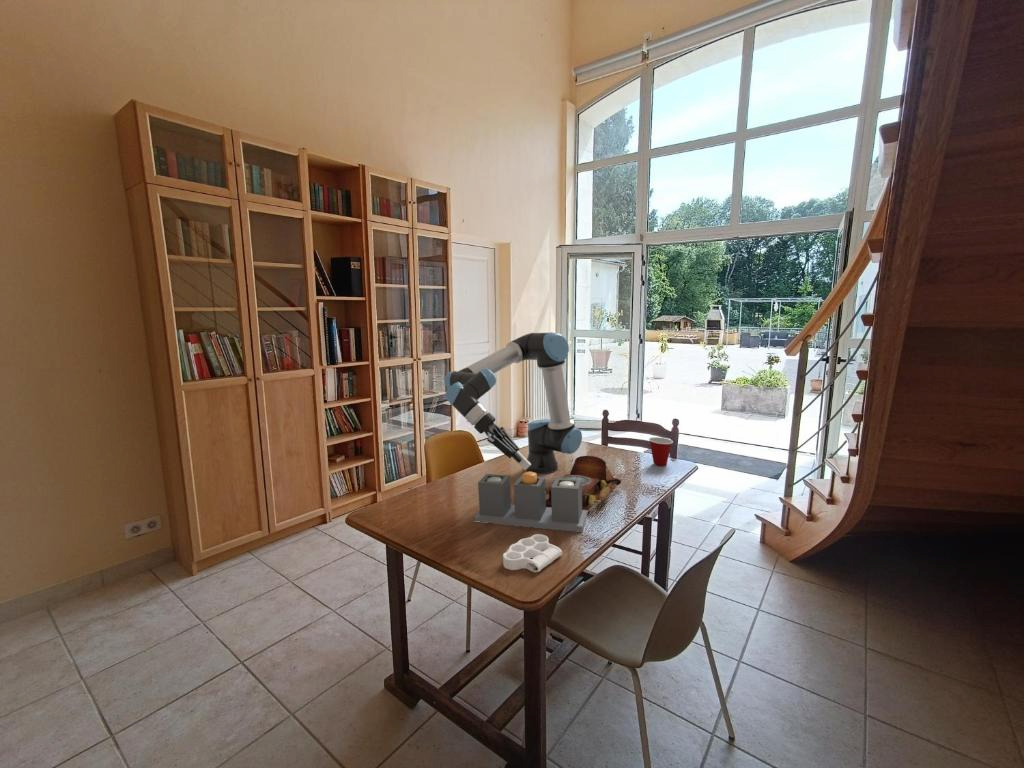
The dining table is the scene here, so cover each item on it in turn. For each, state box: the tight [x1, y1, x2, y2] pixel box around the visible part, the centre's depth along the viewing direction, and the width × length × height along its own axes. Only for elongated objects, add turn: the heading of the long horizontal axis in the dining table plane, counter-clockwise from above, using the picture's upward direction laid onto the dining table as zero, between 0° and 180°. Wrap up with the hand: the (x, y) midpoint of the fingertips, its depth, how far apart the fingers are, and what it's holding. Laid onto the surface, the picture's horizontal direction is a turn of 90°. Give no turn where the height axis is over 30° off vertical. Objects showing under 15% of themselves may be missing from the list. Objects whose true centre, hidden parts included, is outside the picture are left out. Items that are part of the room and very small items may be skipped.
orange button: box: [521, 471, 538, 485], centre depth 160 cm, size 5×5×4 cm
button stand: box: [473, 473, 588, 533], centre depth 161 cm, size 38×13×14 cm, turn 74°
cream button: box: [559, 481, 574, 487], centre depth 157 cm, size 5×5×4 cm
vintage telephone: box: [545, 455, 622, 511], centre depth 182 cm, size 24×12×40 cm
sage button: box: [487, 477, 501, 482], centre depth 164 cm, size 5×5×4 cm
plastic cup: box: [648, 436, 674, 467], centre depth 214 cm, size 11×11×12 cm
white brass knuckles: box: [502, 533, 563, 573], centre depth 136 cm, size 3×18×15 cm
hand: (528, 467), depth 159 cm, fingers closed
